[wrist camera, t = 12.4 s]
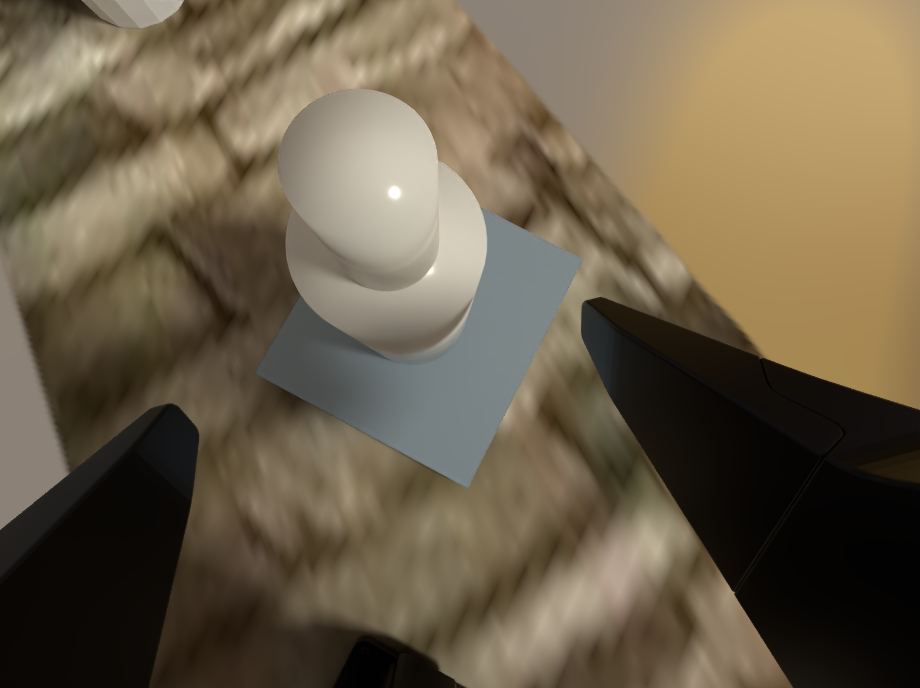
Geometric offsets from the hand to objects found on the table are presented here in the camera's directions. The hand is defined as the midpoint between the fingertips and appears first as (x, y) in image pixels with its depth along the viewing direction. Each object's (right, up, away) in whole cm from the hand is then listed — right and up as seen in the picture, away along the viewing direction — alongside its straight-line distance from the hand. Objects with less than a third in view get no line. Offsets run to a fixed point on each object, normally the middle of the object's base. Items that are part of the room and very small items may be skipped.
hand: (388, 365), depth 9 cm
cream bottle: (-1, +2, +10) cm, 10 cm away
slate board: (0, +2, +11) cm, 11 cm away
